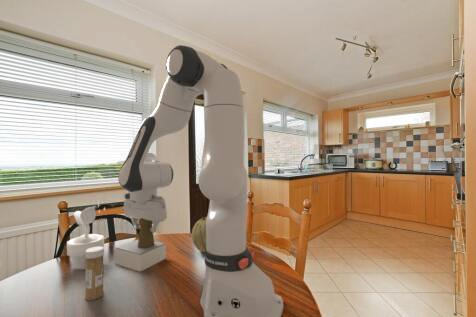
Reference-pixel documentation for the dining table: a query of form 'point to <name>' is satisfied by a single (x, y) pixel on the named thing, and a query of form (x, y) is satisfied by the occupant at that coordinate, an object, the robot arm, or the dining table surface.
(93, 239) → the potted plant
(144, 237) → the brown tapered cylinder
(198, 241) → the cantaloupe
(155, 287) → the dining table surface
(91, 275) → the sprinkles bottle
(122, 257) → the white lidded box
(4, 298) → the dining table surface
